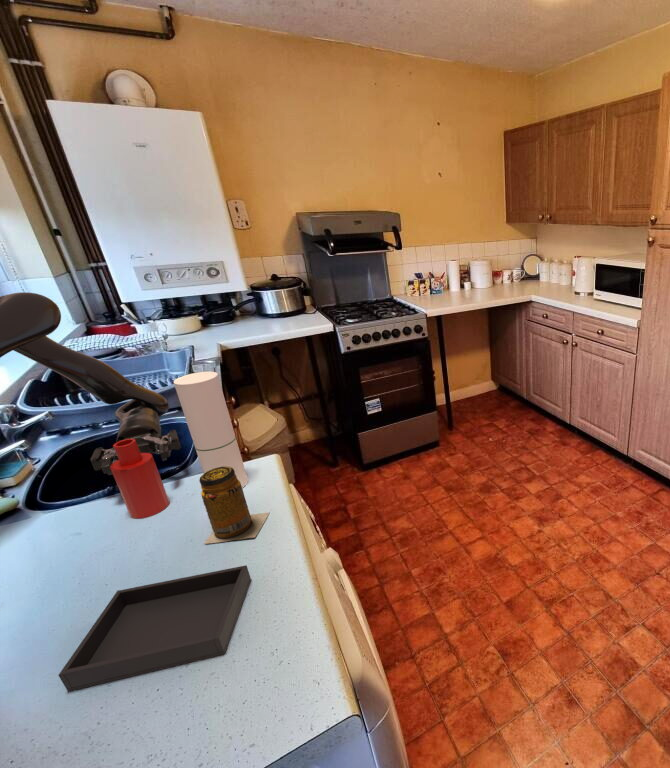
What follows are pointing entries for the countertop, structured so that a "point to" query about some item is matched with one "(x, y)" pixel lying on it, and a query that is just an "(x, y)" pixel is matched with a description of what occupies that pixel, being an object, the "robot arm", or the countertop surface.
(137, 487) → the bottle
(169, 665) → the baking tray
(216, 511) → the condiment
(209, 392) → the cylindrical container
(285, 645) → the countertop surface
